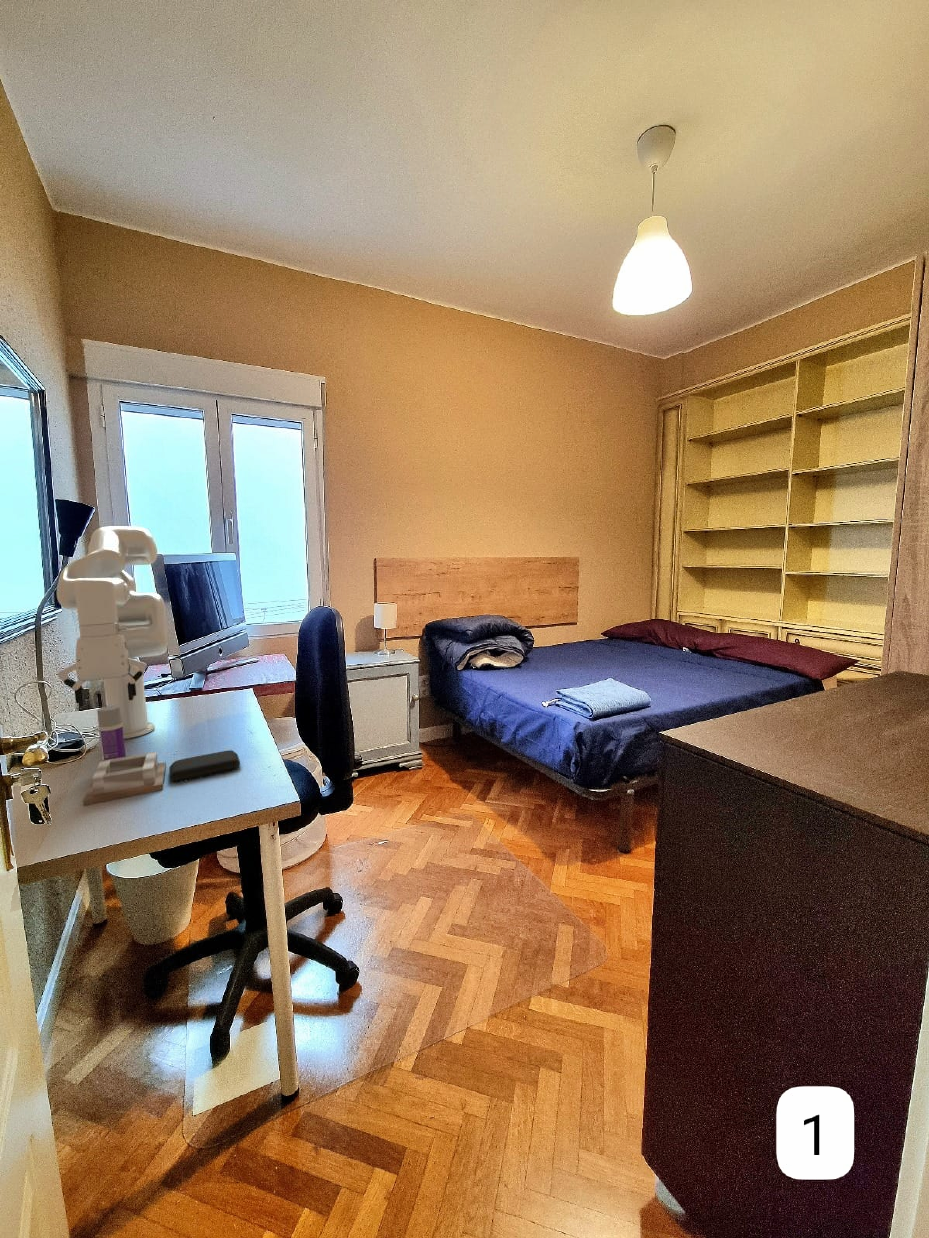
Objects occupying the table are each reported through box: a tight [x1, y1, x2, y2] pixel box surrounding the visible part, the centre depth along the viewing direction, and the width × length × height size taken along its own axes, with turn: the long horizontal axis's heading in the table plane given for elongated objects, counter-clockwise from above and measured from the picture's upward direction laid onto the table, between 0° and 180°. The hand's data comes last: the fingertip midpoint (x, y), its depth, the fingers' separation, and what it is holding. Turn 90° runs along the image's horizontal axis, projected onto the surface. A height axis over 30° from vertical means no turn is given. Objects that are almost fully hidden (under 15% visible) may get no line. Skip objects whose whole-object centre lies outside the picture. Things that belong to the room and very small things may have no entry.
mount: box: [82, 751, 167, 806], centre depth 112 cm, size 14×14×5 cm
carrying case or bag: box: [168, 749, 241, 783], centre depth 120 cm, size 11×3×15 cm
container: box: [96, 705, 127, 761], centre depth 121 cm, size 5×5×15 cm
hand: (107, 702), depth 120 cm, fingers open, 9 cm apart
